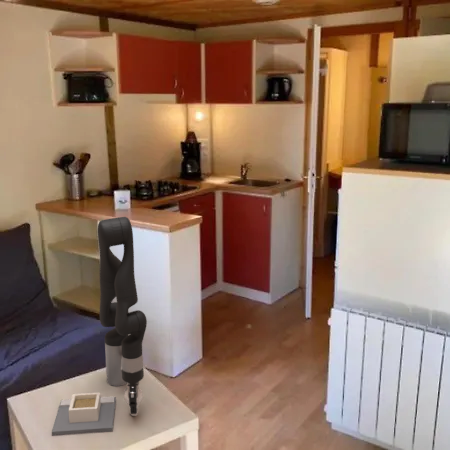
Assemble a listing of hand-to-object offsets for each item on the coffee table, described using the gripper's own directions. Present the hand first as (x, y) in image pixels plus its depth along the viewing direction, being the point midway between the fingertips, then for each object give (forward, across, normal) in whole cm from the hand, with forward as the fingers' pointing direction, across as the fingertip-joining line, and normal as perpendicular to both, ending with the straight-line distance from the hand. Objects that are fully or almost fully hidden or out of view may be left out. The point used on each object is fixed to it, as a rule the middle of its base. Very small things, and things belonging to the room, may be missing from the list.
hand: (133, 407), depth 184 cm
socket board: (+3, -1, -17) cm, 17 cm away
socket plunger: (0, -1, -17) cm, 17 cm away
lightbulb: (+3, 0, 0) cm, 3 cm away
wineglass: (+4, -16, -2) cm, 16 cm away
